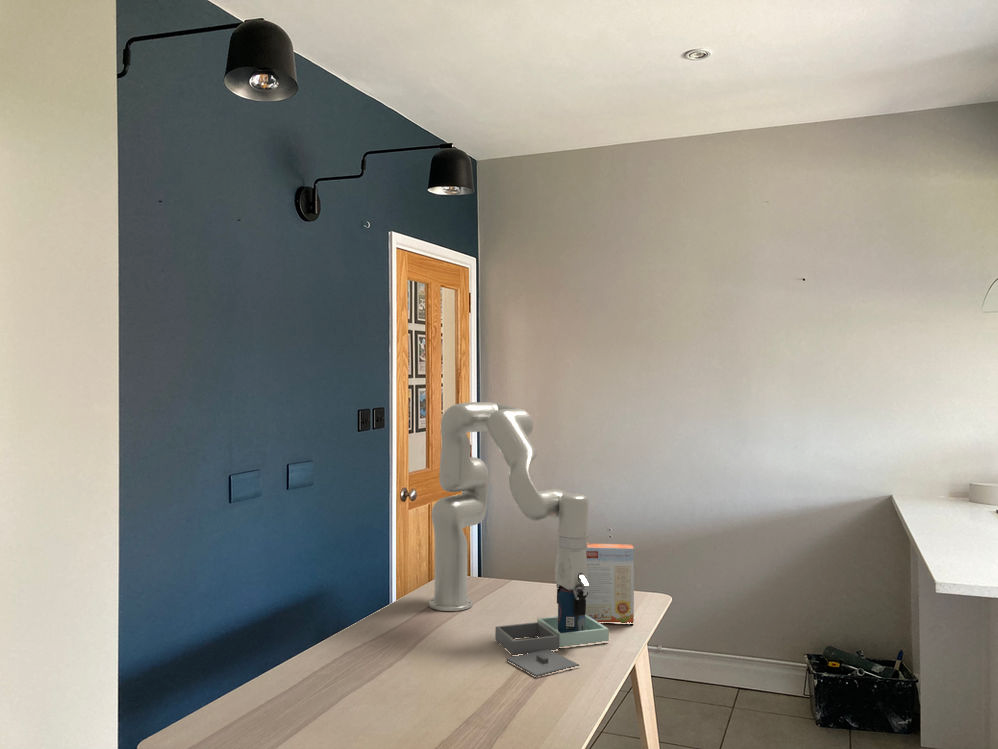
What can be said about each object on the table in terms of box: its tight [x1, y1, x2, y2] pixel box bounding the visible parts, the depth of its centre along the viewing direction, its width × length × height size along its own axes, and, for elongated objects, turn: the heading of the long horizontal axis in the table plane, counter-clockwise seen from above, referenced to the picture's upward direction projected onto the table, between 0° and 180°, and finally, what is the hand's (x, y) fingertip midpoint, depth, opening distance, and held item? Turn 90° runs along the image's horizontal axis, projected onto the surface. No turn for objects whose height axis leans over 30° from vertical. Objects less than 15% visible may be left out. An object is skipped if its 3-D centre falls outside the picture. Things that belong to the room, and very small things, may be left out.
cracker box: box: [586, 543, 635, 623], centre depth 216 cm, size 14×6×21 cm, turn 84°
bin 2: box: [536, 614, 610, 647], centre depth 202 cm, size 14×14×4 cm
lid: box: [505, 649, 580, 677], centre depth 183 cm, size 12×12×2 cm
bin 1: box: [494, 621, 560, 655], centre depth 195 cm, size 12×12×4 cm
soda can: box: [557, 586, 585, 633], centre depth 202 cm, size 7×7×12 cm
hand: (570, 609), depth 202 cm, fingers open, 9 cm apart
